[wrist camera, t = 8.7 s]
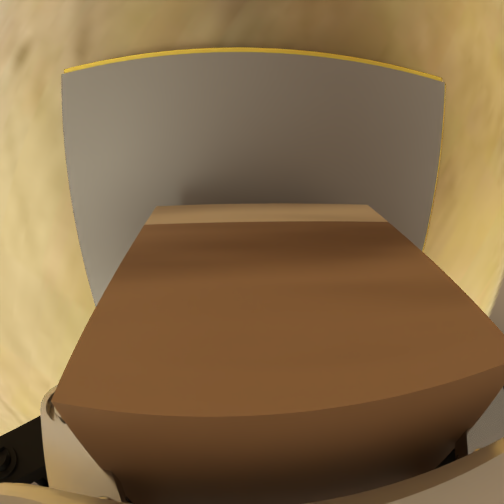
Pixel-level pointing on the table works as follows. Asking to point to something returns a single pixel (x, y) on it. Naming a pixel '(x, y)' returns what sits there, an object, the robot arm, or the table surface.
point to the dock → (244, 139)
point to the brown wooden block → (276, 358)
